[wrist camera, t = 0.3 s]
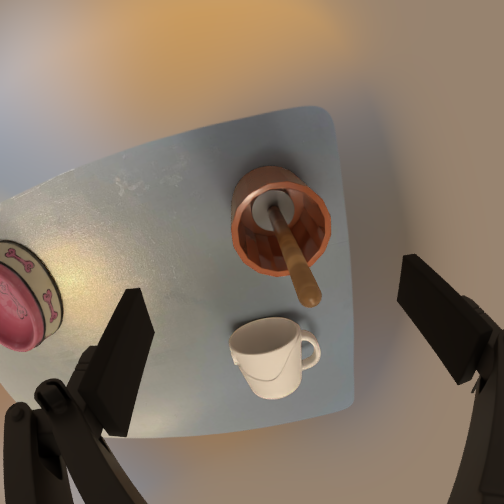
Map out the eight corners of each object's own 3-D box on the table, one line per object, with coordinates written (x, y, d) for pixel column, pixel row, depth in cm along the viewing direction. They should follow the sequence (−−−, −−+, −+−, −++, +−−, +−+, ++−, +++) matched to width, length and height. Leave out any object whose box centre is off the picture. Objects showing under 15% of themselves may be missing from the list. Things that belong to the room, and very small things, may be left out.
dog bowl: (27, 346, 45) (11, 370, 39) (-30, 268, 38) (-51, 286, 32) (83, 316, 43) (67, 344, 36) (17, 219, 35) (-10, 236, 29)
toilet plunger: (248, 187, 36) (268, 271, 17) (288, 182, 36) (353, 259, 17) (252, 225, 38) (274, 339, 19) (291, 220, 38) (349, 327, 19)
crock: (227, 170, 35) (225, 188, 26) (304, 162, 36) (329, 177, 26) (237, 242, 39) (238, 282, 30) (308, 233, 39) (331, 269, 30)
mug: (244, 367, 48) (246, 405, 41) (228, 324, 44) (228, 362, 37) (316, 351, 48) (328, 387, 40) (309, 305, 44) (323, 341, 37)
